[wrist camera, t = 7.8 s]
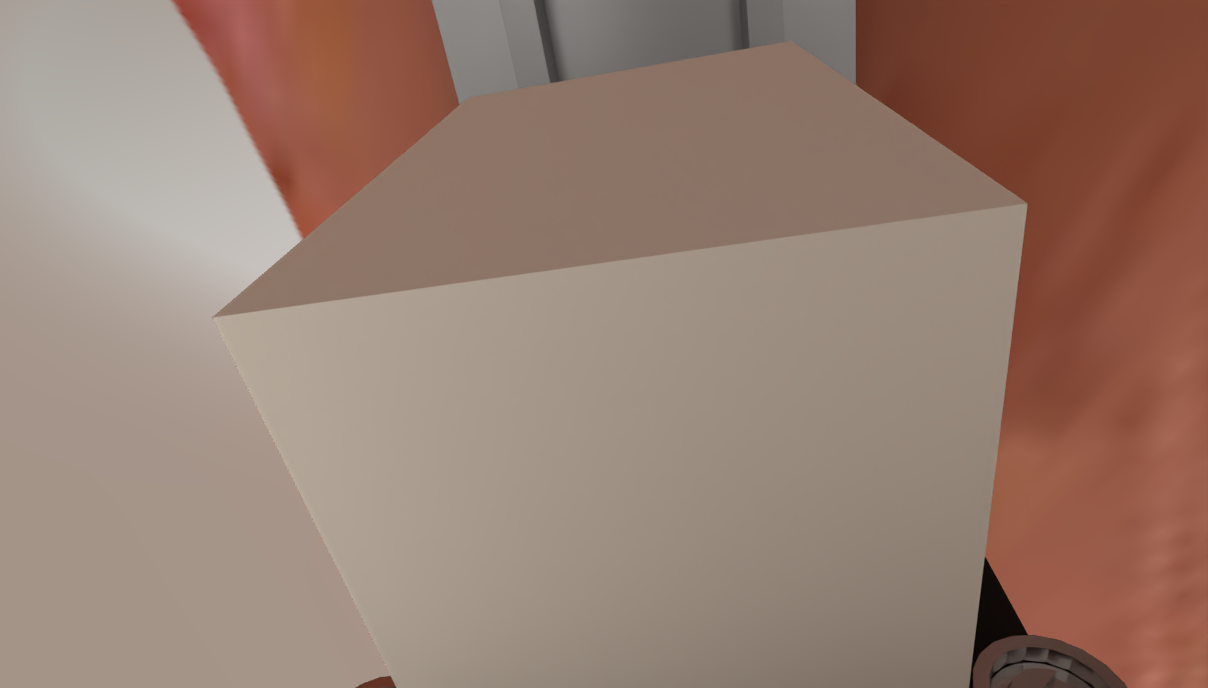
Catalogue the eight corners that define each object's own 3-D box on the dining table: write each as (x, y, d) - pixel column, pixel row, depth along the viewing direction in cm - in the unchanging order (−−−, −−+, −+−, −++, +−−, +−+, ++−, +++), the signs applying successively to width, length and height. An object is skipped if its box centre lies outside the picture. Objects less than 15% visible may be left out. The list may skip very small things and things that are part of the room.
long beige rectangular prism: (791, 40, 8) (1027, 202, 3) (818, 681, 14) (917, 1112, 9) (468, 97, 9) (212, 317, 4) (620, 692, 15) (604, 1107, 9)
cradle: (846, -141, 21) (875, -153, 18) (849, 353, 29) (870, 394, 26) (426, -54, 22) (397, -53, 20) (541, 389, 31) (531, 431, 28)
